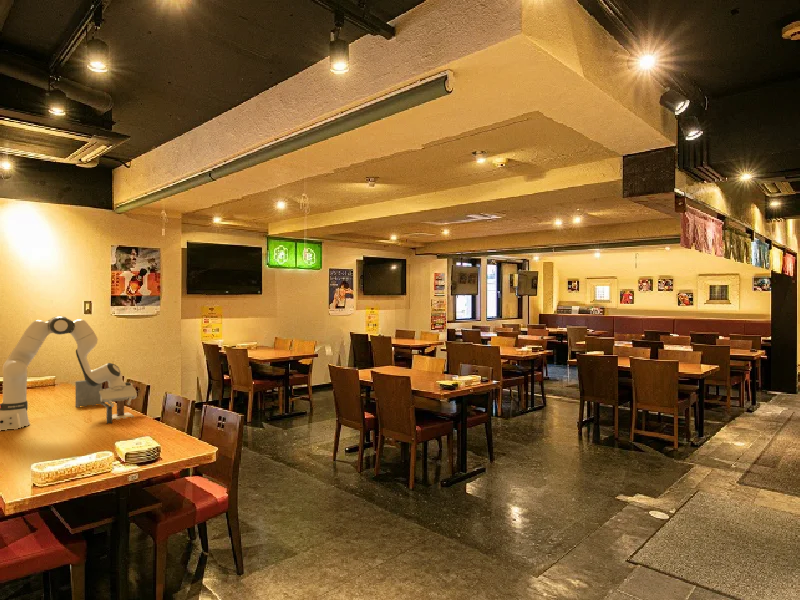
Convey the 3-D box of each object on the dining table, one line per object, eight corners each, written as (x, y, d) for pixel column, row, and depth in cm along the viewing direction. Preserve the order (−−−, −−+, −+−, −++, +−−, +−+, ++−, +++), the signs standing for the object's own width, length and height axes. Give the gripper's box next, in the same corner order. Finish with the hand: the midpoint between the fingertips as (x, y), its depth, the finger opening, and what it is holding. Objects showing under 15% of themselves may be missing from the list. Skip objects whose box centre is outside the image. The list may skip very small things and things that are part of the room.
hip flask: (75, 407, 349) (75, 378, 349) (74, 406, 352) (75, 377, 352) (102, 404, 359) (102, 376, 359) (101, 403, 362) (101, 375, 363)
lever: (107, 423, 302) (107, 406, 302) (100, 418, 316) (100, 401, 316) (112, 423, 304) (112, 405, 304) (104, 418, 317) (104, 401, 317)
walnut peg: (117, 416, 318) (117, 401, 318) (116, 415, 321) (116, 400, 321) (125, 415, 320) (124, 401, 320) (123, 414, 323) (123, 400, 323)
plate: (112, 420, 312) (112, 418, 312) (107, 416, 321) (107, 415, 321) (133, 417, 320) (133, 415, 320) (128, 413, 329) (128, 412, 329)
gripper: (99, 386, 319) (103, 404, 311) (135, 383, 332) (139, 400, 325) (97, 392, 322) (101, 410, 315) (133, 388, 336) (137, 406, 328)
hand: (120, 405), depth 320 cm, fingers open, 8 cm apart
